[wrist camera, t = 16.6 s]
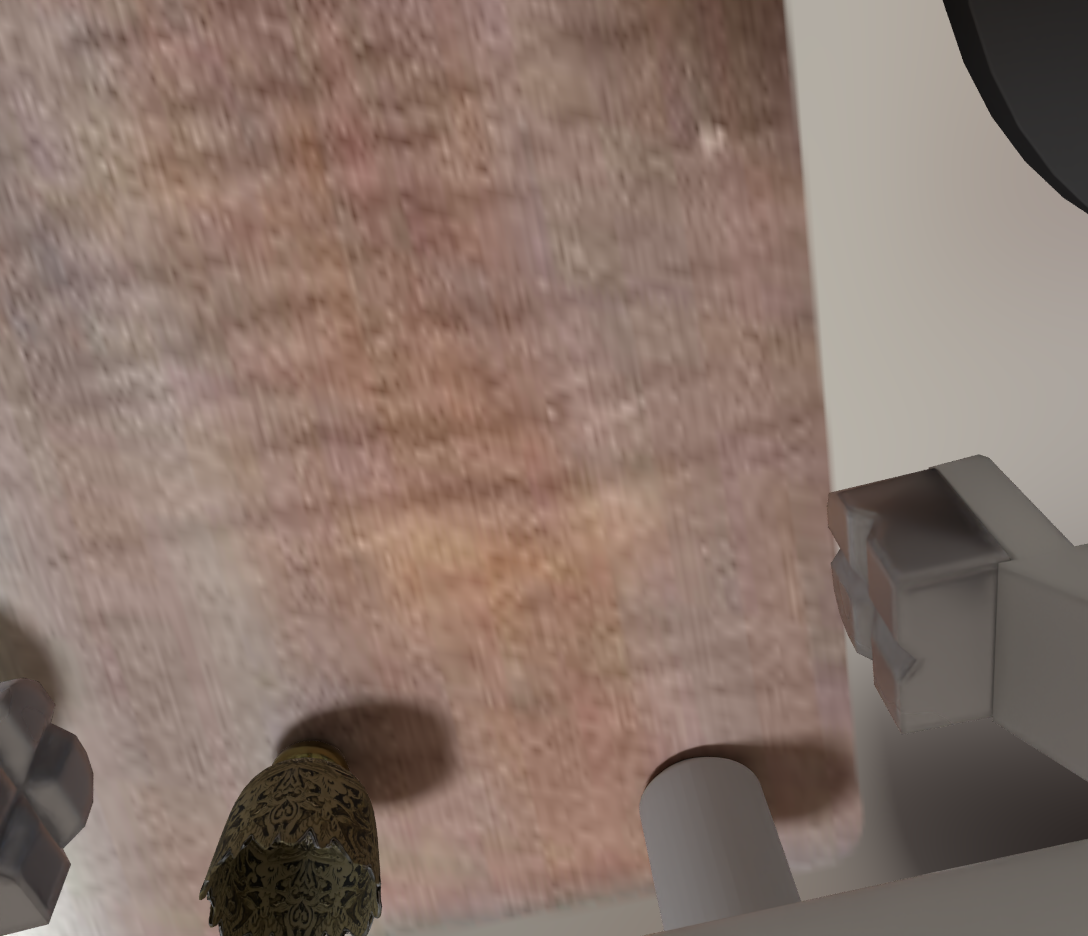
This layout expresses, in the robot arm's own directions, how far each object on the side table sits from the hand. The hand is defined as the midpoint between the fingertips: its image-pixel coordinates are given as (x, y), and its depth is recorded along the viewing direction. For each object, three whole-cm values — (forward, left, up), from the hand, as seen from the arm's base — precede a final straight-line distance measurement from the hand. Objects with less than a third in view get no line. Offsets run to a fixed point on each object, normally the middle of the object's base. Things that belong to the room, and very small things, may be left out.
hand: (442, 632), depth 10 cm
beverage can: (-4, +36, -27) cm, 45 cm away
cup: (+14, +28, -27) cm, 42 cm away
